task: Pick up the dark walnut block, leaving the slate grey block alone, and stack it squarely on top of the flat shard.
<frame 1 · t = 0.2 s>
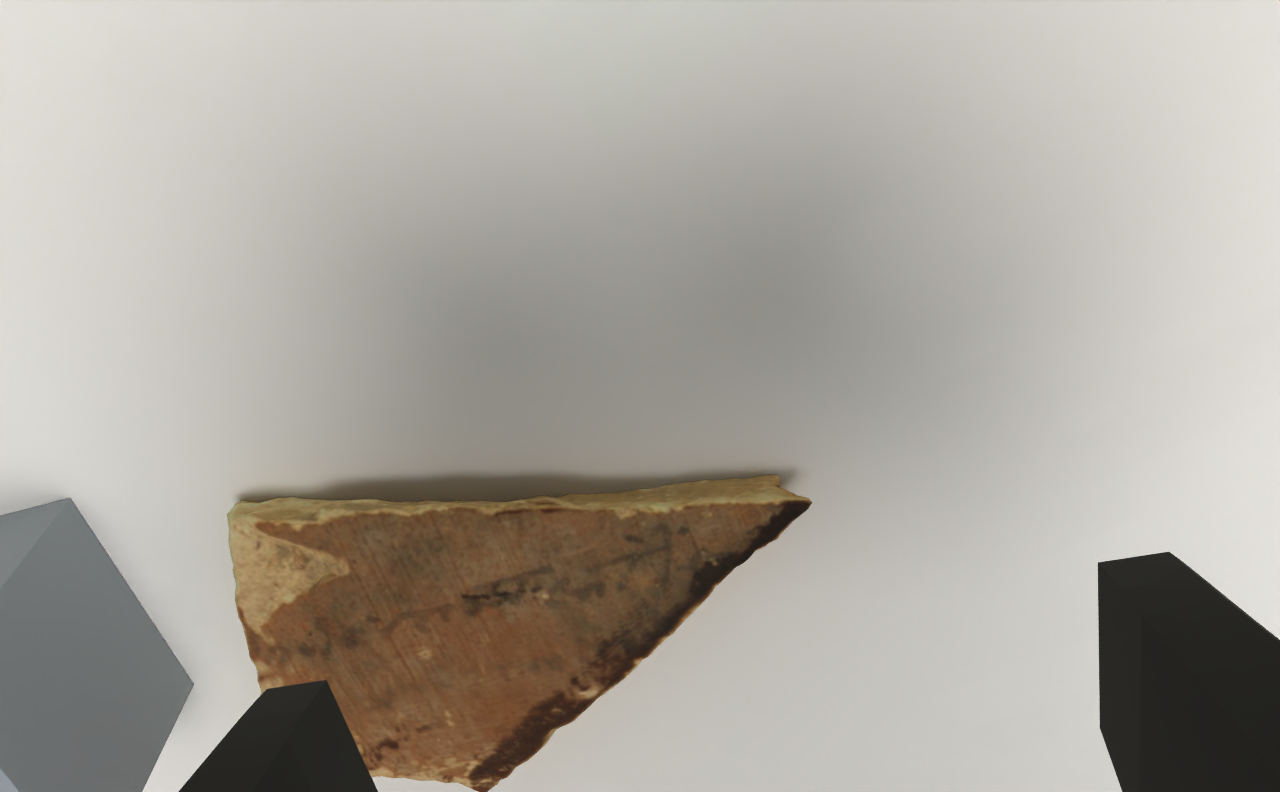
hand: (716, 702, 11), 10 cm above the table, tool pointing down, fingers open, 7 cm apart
slate block: (28, 619, 24), on the table
shard: (459, 540, 23), on the table
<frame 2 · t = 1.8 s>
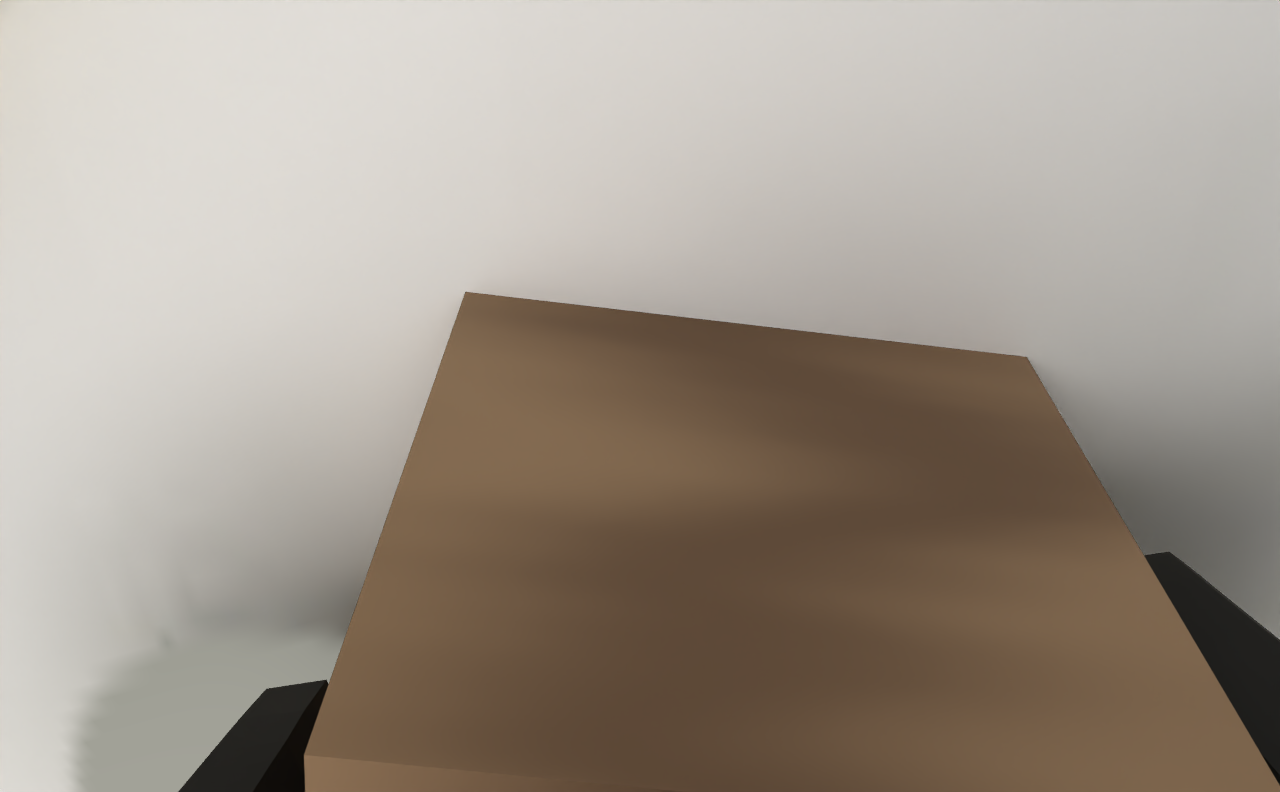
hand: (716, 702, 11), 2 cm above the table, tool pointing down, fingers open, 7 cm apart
walnut block: (706, 542, 13), on the table, touching gripper
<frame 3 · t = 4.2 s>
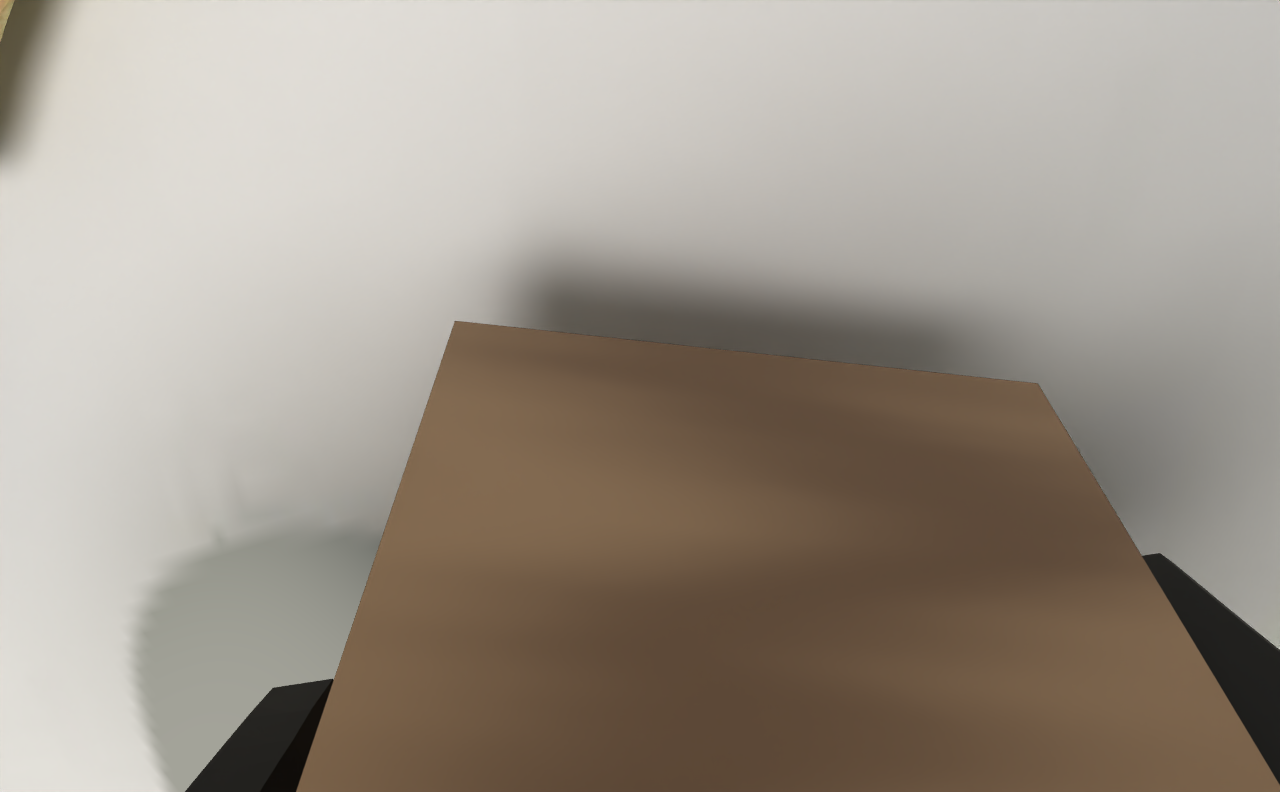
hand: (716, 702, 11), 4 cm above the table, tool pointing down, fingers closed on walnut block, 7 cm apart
walnut block: (707, 583, 12), point 3 cm above the table, touching gripper
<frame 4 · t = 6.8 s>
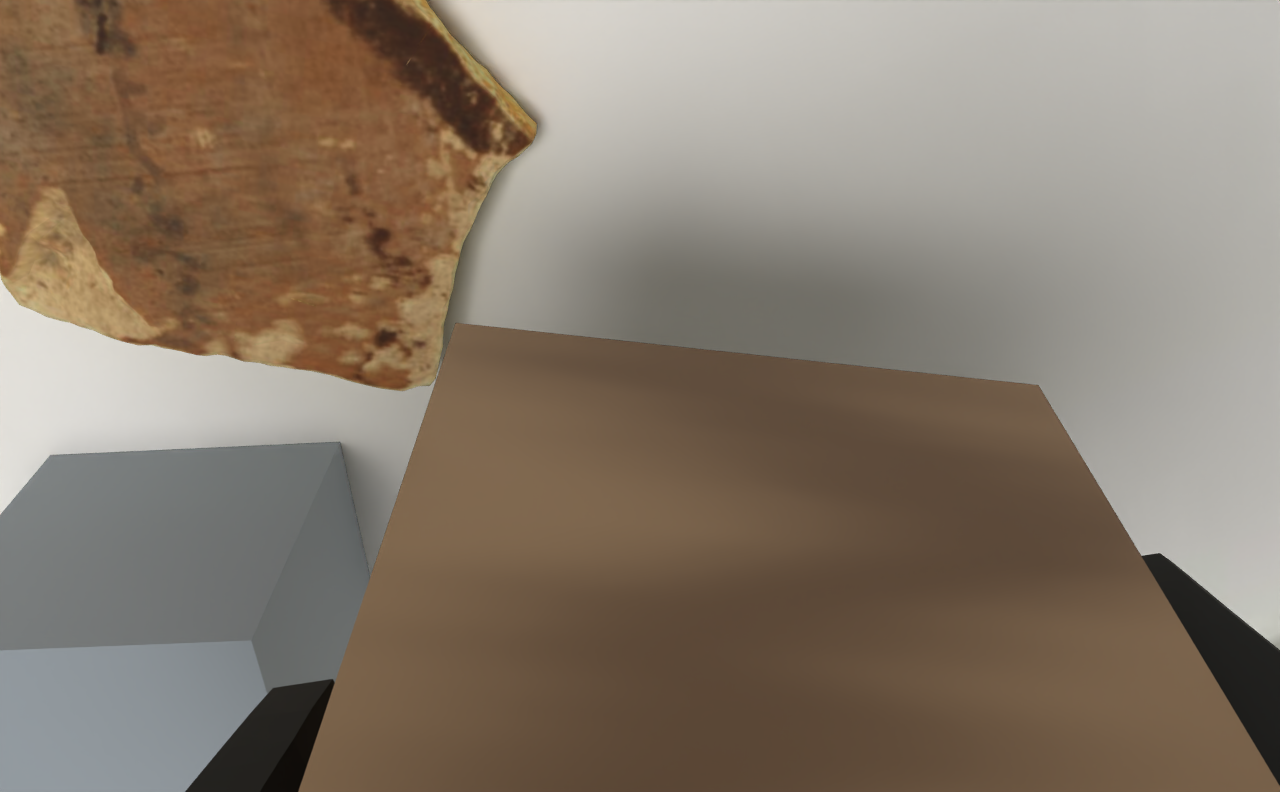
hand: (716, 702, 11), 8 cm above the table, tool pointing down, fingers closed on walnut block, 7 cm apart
walnut block: (708, 584, 12), point 7 cm above the table, touching gripper
slate block: (230, 562, 21), on the table
shard: (160, 47, 17), on the table
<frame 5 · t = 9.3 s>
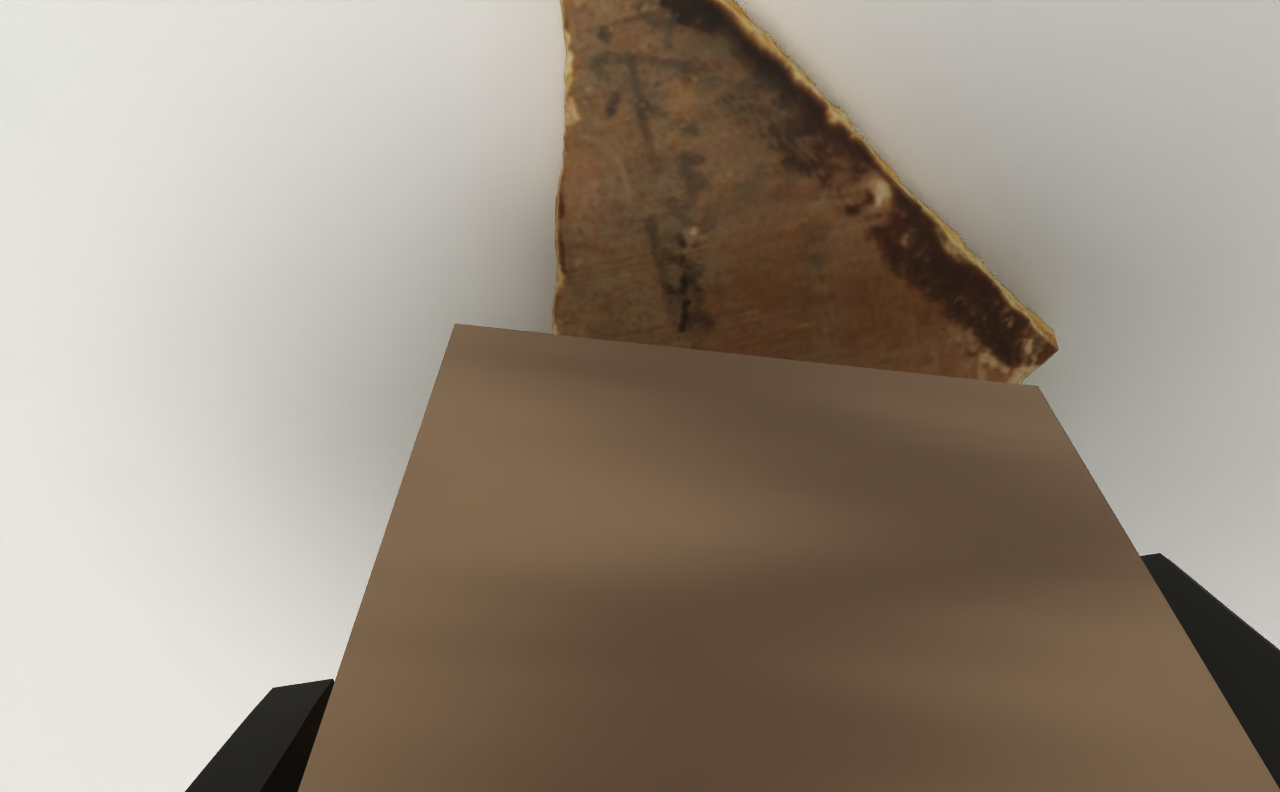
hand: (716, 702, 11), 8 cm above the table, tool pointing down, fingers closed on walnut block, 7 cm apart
walnut block: (707, 585, 12), point 7 cm above the table, touching gripper
shard: (684, 299, 19), on the table
when the fingers open (5 cm above the table, at t = 11.0 s): walnut block drops 2 cm, resting on shard.
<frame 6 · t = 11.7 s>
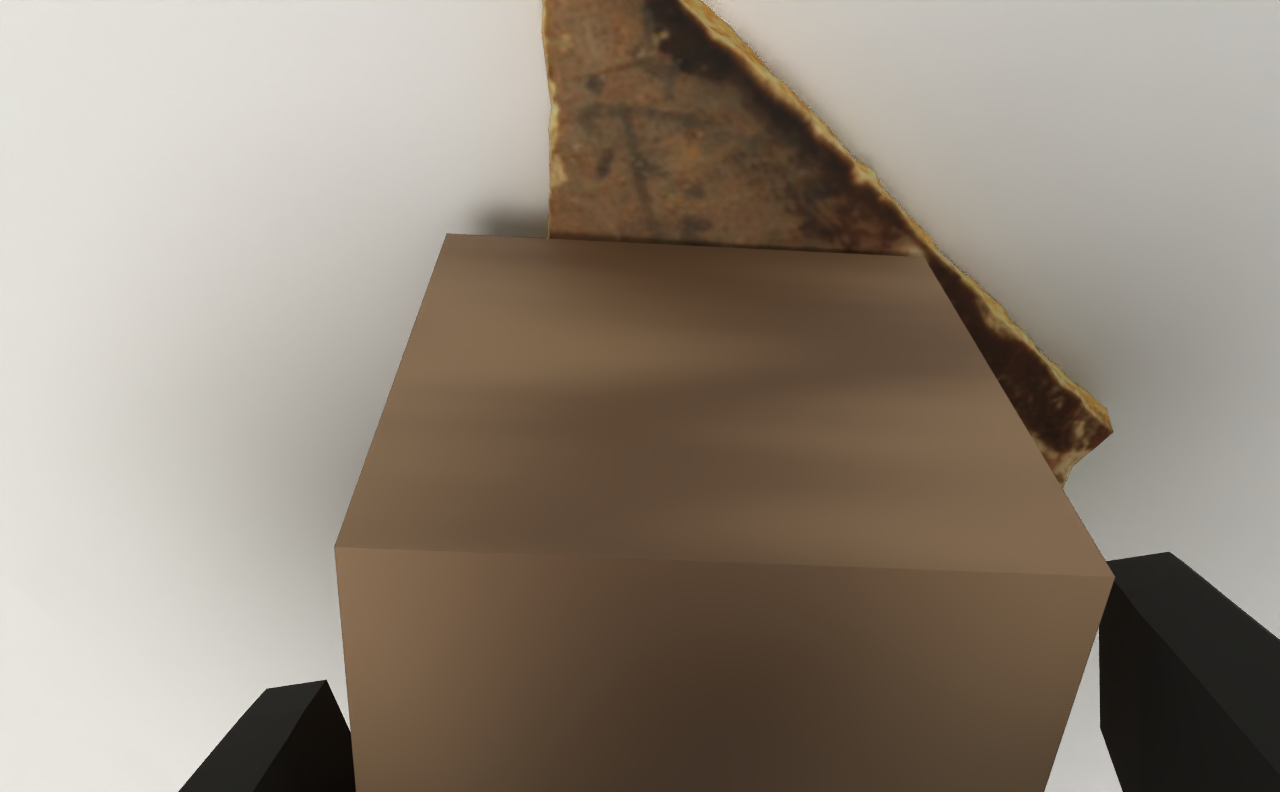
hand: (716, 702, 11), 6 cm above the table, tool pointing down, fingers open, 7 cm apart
walnut block: (670, 448, 15), point 1 cm above the table, touching shard
shard: (687, 370, 17), on the table, touching walnut block
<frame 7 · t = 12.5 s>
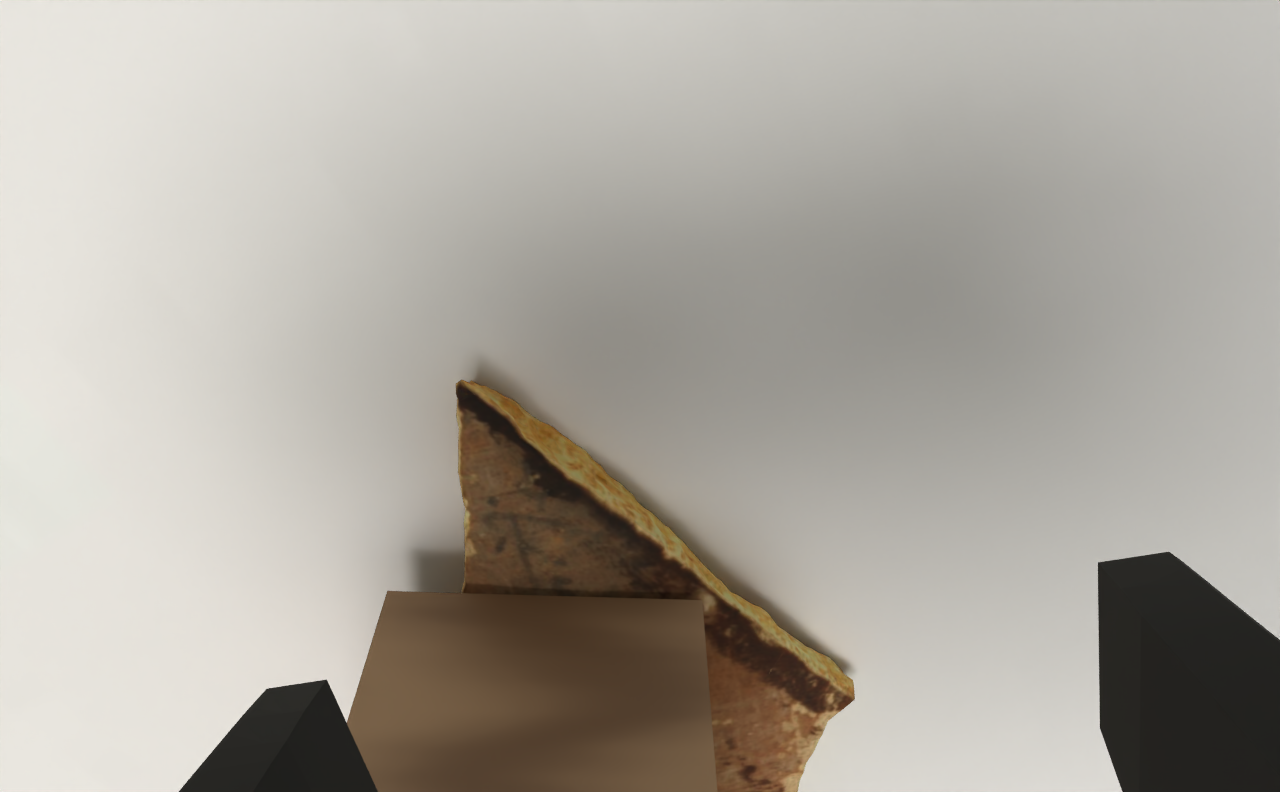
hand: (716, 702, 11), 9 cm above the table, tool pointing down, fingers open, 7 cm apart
walnut block: (545, 713, 22), point 1 cm above the table, touching shard
shard: (569, 638, 24), on the table, touching walnut block
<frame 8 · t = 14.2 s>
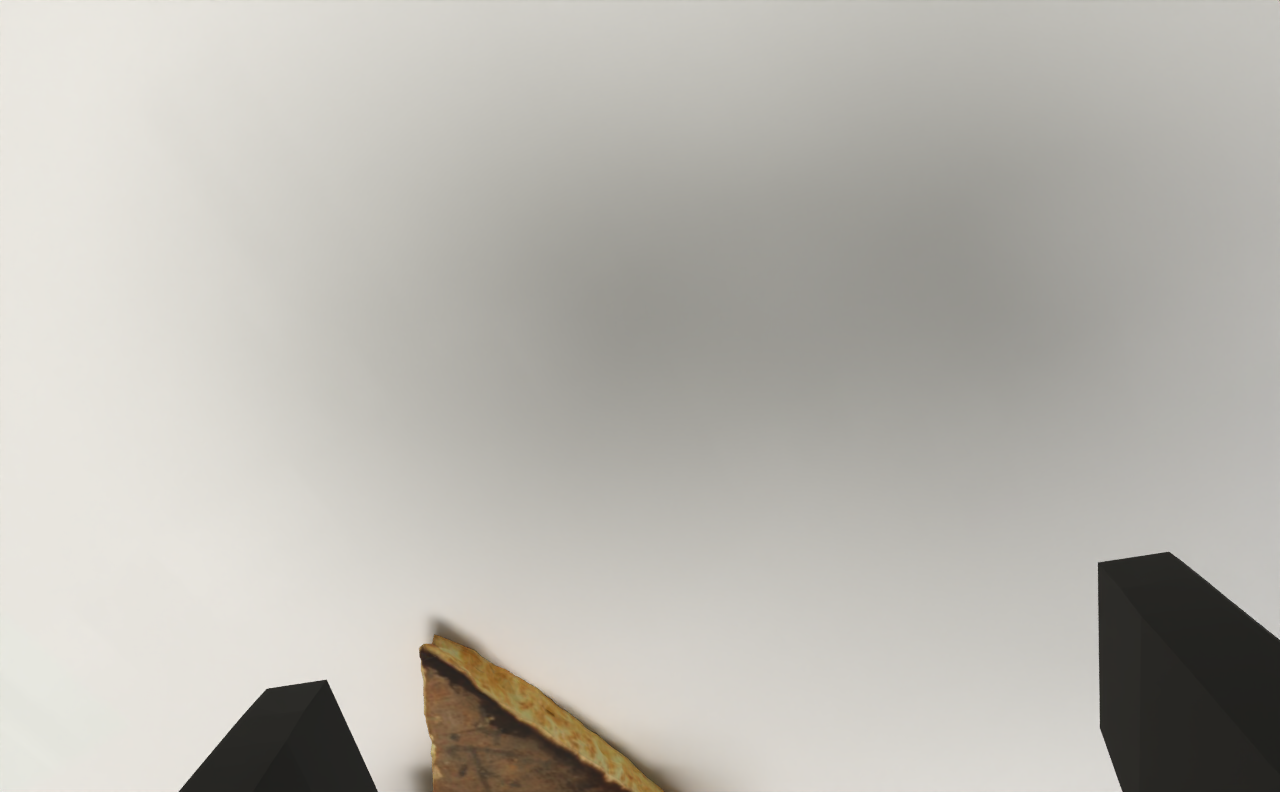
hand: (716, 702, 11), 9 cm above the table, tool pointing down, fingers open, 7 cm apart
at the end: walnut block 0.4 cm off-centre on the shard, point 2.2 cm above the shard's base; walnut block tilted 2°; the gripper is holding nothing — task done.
